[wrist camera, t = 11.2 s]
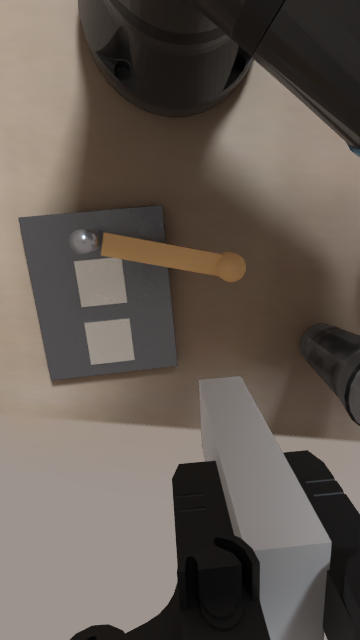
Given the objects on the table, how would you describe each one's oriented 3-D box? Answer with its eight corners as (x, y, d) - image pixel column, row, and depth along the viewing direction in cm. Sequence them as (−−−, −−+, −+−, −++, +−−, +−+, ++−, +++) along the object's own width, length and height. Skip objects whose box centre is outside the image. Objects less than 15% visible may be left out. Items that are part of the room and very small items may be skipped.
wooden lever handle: (102, 257, 29) (99, 259, 27) (106, 228, 29) (103, 228, 27) (237, 281, 31) (242, 284, 29) (243, 254, 30) (249, 255, 28)
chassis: (23, 218, 32) (-16, 214, 25) (161, 206, 33) (165, 199, 25) (54, 375, 36) (29, 413, 29) (176, 361, 37) (183, 395, 30)
